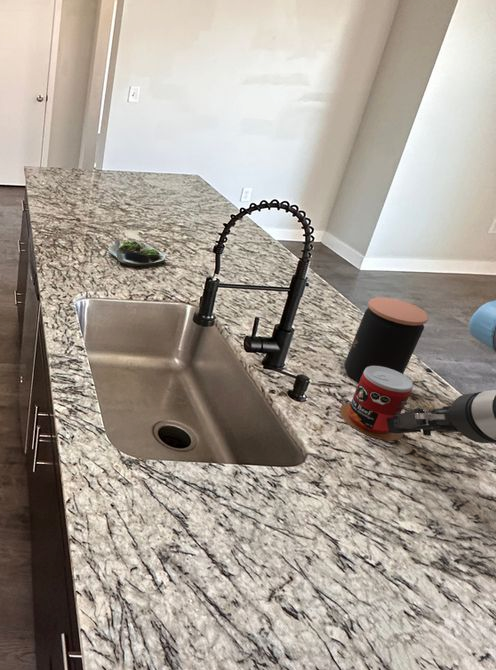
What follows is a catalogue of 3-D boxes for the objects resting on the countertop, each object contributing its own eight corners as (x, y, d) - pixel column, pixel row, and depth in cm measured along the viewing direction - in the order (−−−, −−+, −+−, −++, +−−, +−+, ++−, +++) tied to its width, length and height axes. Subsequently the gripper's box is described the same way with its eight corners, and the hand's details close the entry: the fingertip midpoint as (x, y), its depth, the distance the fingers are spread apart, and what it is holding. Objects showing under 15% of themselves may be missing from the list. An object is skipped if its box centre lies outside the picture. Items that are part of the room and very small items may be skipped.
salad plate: (94, 246, 186) (96, 234, 184) (139, 242, 191) (141, 230, 189) (123, 270, 170) (125, 257, 168) (171, 264, 175) (174, 251, 173)
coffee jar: (365, 360, 129) (392, 294, 121) (409, 387, 120) (441, 318, 112) (331, 367, 126) (357, 300, 118) (374, 395, 117) (405, 325, 109)
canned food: (338, 407, 112) (356, 364, 108) (377, 409, 112) (396, 366, 108) (360, 433, 105) (380, 388, 101) (401, 435, 105) (423, 390, 101)
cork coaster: (398, 413, 111) (398, 413, 111) (408, 447, 103) (409, 447, 103) (337, 396, 116) (337, 396, 116) (342, 428, 107) (342, 427, 107)
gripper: (453, 437, 80) (358, 442, 102) (548, 447, 79) (431, 449, 101) (444, 387, 82) (353, 402, 105) (536, 395, 81) (424, 409, 104)
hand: (391, 425), depth 103 cm, fingers closed
